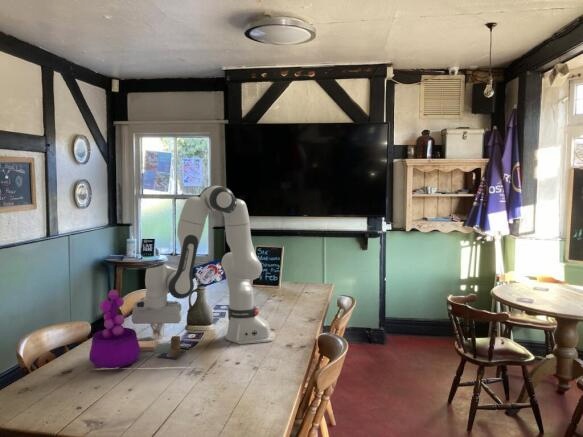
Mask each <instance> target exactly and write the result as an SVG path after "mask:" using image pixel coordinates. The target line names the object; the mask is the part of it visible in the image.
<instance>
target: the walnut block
mask: <svg viewBox="0 0 583 437" xmlns="http://www.w3.org/2000/svg"><path fill="white" fill-rule="evenodd" d="M170 343H171V351H170V356H171V357H173V358H174V357H176V358H177V357H180V355H181V336H180V335H175V336H174V335H173V336H171V338H170Z"/></svg>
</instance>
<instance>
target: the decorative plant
mask: <svg viewBox="0 0 583 437" xmlns="http://www.w3.org/2000/svg"><path fill="white" fill-rule="evenodd" d="M119 295H120V293H119V292H118V290H116V289H112V290H109V292H108V295H107V297H108V298H109V299H110V300H112V301H110V300H109V299H106V300H102V301H101V302H100V303H99V306H98V308H99V310H100V311H101V312H103V313H104V314H103V320H104V322H103V326H104V327H105V329H102V330H99V331H97V332H95V333H94V334H93V335H92V339H91V345H90V351H89V355H88V356H89V358H88V360H89V361H90V362H91V364H92V365H93V366H95V367H98V368H101V369H117V368H121V367H126V366H128V365H131V364H133V363H134V362H135V361H136V360H137V359H138V358H139V357H140V355H141V354H140V346H139V343H138V341H139V340H138V336H137V331H136V330H135V329H134V328H130V327H124V326H122V325H124V323H125V320H126V319H125V316H124V315H123V314H118V309H117V308H121V307H122V306H123V305H124V303H125V301H124V299H123V298H122V297H119Z"/></svg>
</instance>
